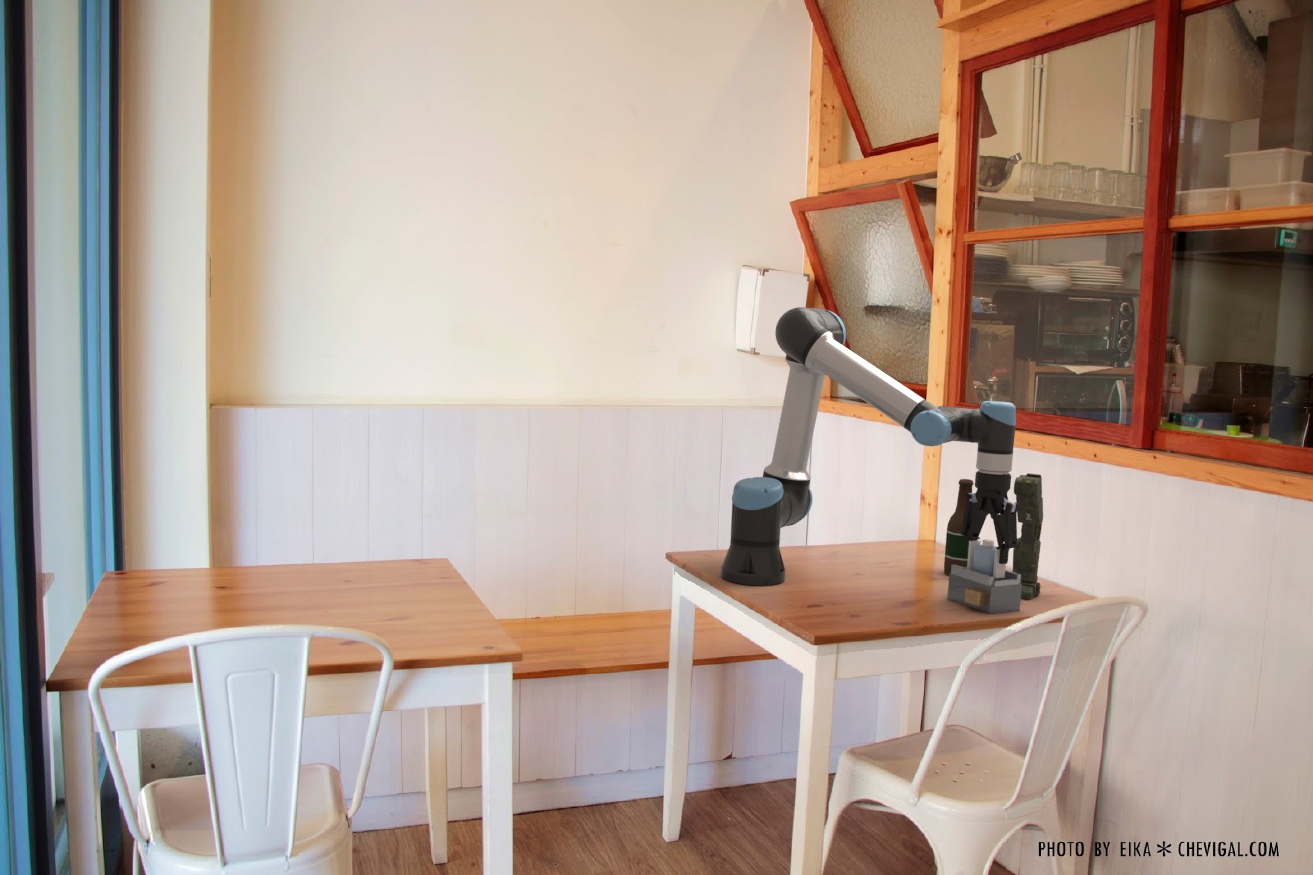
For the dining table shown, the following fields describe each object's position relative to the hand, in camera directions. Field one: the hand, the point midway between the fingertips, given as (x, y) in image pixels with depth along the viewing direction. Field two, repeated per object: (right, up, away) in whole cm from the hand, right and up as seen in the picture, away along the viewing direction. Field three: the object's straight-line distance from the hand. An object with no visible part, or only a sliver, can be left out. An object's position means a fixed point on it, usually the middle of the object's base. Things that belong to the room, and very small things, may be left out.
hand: (985, 573), depth 235 cm
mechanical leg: (+12, -7, +12) cm, 18 cm away
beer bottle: (+2, -4, +29) cm, 29 cm away
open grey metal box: (-2, -7, +1) cm, 7 cm away
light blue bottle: (0, -1, 0) cm, 1 cm away
